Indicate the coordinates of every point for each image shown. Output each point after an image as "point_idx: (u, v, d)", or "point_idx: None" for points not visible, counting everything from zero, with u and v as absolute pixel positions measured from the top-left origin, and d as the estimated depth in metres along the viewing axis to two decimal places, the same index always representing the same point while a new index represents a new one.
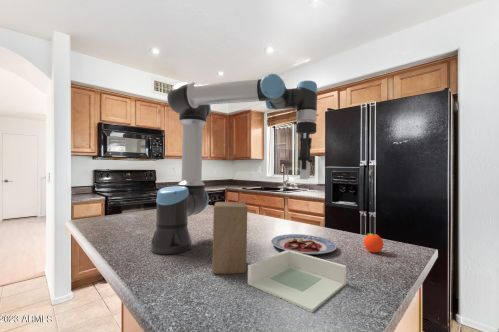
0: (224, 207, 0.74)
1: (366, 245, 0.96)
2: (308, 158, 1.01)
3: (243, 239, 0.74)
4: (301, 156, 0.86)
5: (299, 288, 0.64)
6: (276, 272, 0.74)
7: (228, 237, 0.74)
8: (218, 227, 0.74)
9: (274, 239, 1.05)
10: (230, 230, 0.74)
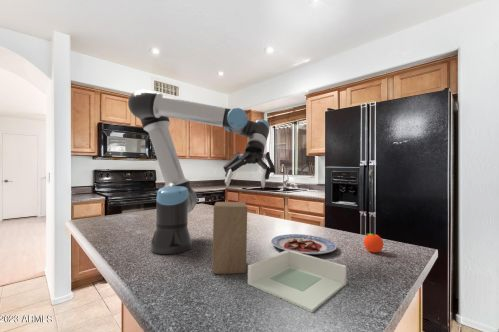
0: (224, 207, 0.74)
1: (366, 245, 0.96)
2: (234, 170, 0.98)
3: (243, 239, 0.74)
4: (274, 168, 0.92)
5: (299, 288, 0.64)
6: (276, 272, 0.74)
7: (228, 237, 0.74)
8: (218, 227, 0.74)
9: (274, 239, 1.05)
10: (230, 230, 0.74)
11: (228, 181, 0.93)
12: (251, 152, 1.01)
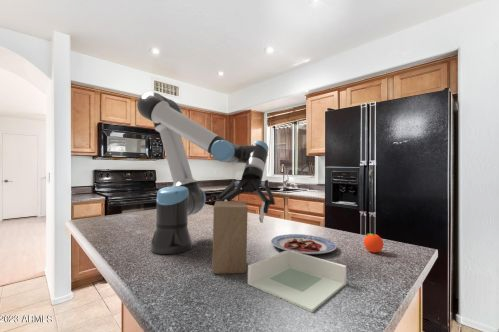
0: (224, 207, 0.73)
1: (366, 245, 0.96)
2: (229, 199, 0.90)
3: (243, 239, 0.74)
4: None
5: (299, 288, 0.64)
6: (276, 272, 0.74)
7: (228, 237, 0.74)
8: (218, 228, 0.73)
9: (274, 239, 1.05)
10: (231, 230, 0.74)
11: None
12: (248, 179, 0.93)
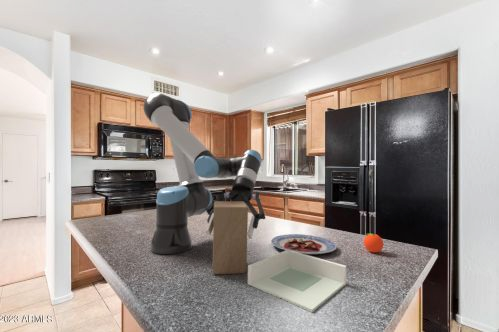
0: (224, 208, 0.73)
1: (366, 245, 0.96)
2: None
3: (244, 240, 0.74)
4: (264, 214, 0.79)
5: (299, 288, 0.64)
6: (276, 272, 0.74)
7: (228, 238, 0.73)
8: (219, 228, 0.73)
9: (274, 239, 1.05)
10: (231, 231, 0.73)
11: (210, 228, 0.80)
12: (239, 191, 0.88)
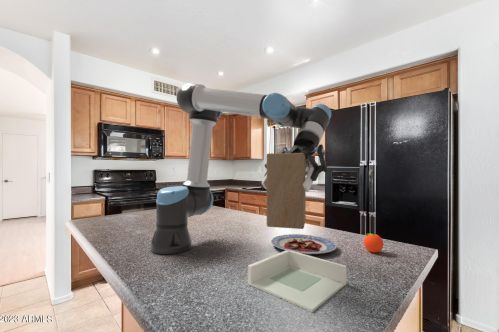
0: (277, 154, 0.67)
1: (366, 245, 0.96)
2: None
3: (300, 190, 0.66)
4: (325, 165, 0.68)
5: (299, 288, 0.64)
6: (276, 272, 0.74)
7: (282, 187, 0.67)
8: (272, 177, 0.68)
9: (274, 239, 1.05)
10: (285, 180, 0.67)
11: None
12: (300, 146, 0.79)
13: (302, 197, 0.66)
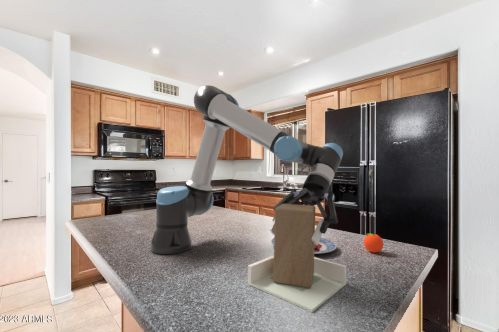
0: (286, 210, 0.66)
1: (366, 245, 0.96)
2: None
3: (308, 249, 0.64)
4: (335, 218, 0.66)
5: (299, 288, 0.64)
6: None
7: (290, 244, 0.66)
8: (280, 232, 0.67)
9: None
10: (293, 236, 0.65)
11: None
12: (310, 190, 0.77)
13: (310, 256, 0.64)
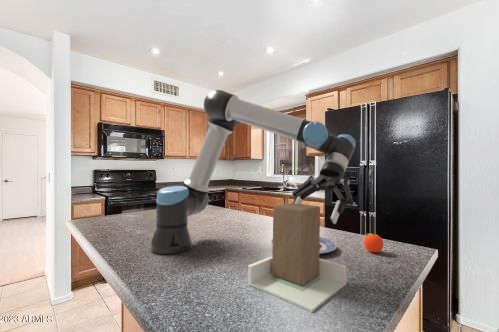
0: (282, 208, 0.70)
1: (366, 245, 0.96)
2: (304, 197, 0.85)
3: (300, 246, 0.66)
4: (351, 199, 0.73)
5: (299, 288, 0.64)
6: None
7: (285, 241, 0.69)
8: (276, 228, 0.71)
9: None
10: (287, 233, 0.68)
11: None
12: (326, 176, 0.84)
13: (301, 254, 0.66)
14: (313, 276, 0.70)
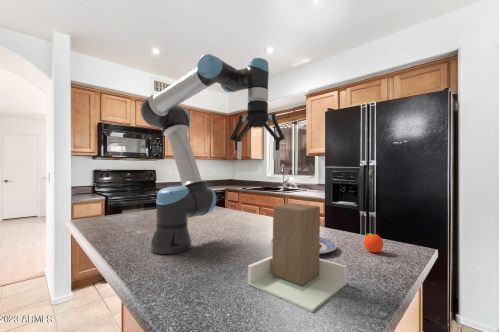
0: (282, 208, 0.70)
1: (366, 245, 0.96)
2: (241, 138, 0.95)
3: (300, 247, 0.66)
4: (283, 137, 0.89)
5: (299, 288, 0.64)
6: None
7: (285, 241, 0.69)
8: (277, 228, 0.71)
9: None
10: (287, 233, 0.68)
11: (240, 155, 0.94)
12: (255, 114, 0.92)
13: (301, 254, 0.66)
14: (313, 276, 0.70)
